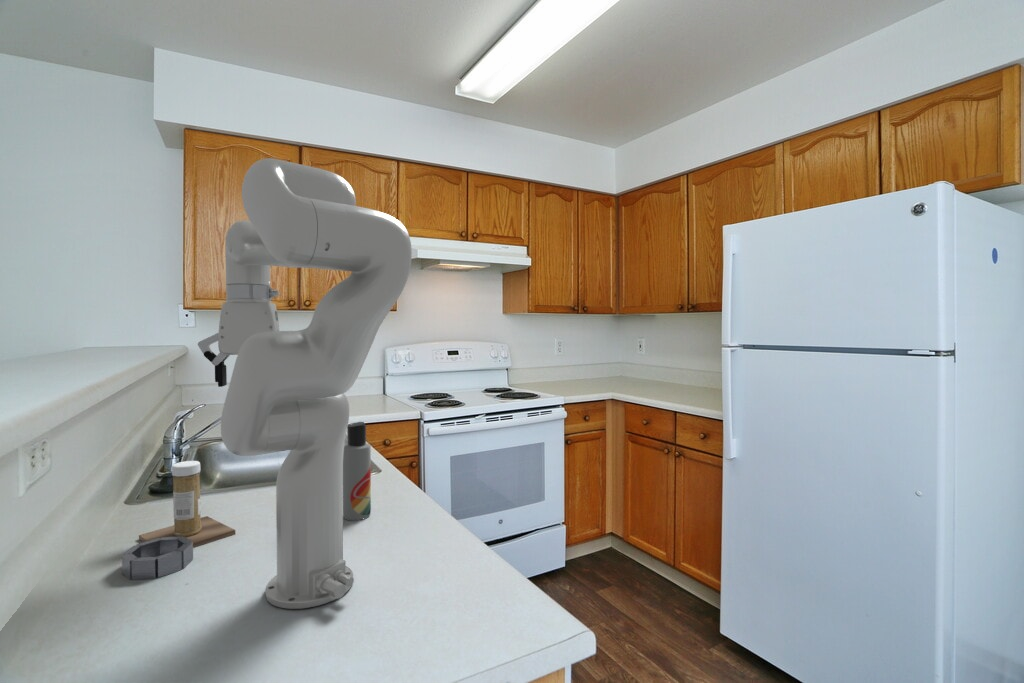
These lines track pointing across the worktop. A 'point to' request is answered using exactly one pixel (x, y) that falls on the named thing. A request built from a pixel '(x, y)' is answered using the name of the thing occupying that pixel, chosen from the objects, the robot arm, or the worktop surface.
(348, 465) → the lotion bottle
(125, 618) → the worktop surface
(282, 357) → the robot arm
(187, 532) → the sprinkles bottle
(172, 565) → the grey segmented ring
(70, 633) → the worktop surface
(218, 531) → the walnut board
